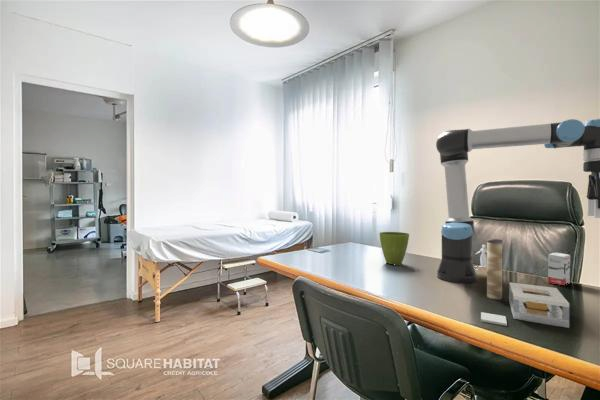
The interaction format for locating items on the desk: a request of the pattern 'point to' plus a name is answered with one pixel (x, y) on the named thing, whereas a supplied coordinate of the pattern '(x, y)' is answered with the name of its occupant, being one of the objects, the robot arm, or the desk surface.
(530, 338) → the desk surface
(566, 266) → the ink box
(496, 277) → the tan wooden bar
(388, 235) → the flower pot
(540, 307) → the breaker button
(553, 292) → the grey slotted box
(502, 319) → the rest pad
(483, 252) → the figurine
